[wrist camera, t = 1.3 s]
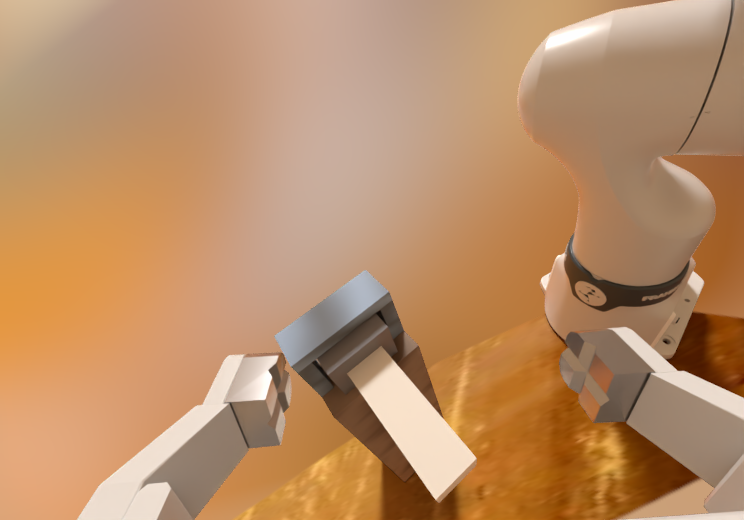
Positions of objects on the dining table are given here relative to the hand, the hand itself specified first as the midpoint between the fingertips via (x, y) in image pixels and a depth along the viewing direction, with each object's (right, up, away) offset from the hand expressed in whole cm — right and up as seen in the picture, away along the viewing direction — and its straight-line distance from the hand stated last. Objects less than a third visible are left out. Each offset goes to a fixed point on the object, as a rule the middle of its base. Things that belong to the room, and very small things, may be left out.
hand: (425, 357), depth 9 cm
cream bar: (0, -7, +13) cm, 15 cm away
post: (+4, -22, +34) cm, 41 cm away
